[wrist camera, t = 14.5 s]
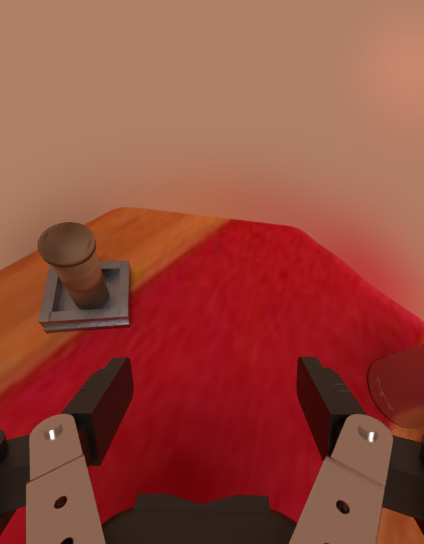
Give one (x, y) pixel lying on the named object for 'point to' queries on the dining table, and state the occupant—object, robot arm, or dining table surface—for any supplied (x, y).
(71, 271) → the brown capped cylinder
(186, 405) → the dining table surface
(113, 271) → the grey square tray
